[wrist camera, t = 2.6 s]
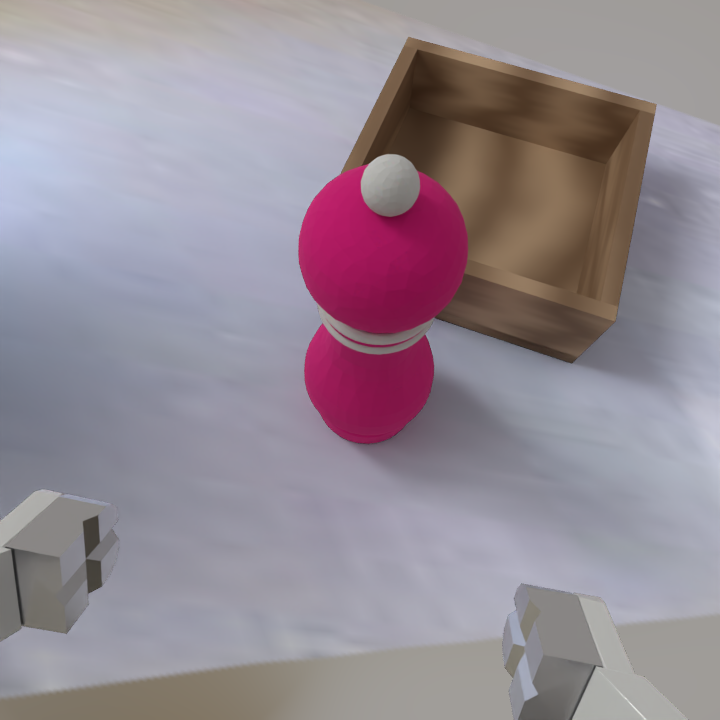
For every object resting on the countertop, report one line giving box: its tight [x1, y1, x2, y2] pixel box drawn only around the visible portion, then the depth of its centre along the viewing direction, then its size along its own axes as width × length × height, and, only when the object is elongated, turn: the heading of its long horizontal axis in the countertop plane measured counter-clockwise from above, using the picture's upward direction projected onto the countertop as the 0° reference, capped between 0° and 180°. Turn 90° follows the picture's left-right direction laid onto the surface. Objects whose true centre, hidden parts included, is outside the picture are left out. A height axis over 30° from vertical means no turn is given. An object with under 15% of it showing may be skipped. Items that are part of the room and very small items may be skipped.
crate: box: [340, 37, 657, 363], centre depth 36 cm, size 18×18×6 cm
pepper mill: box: [299, 154, 468, 444], centre depth 24 cm, size 7×7×20 cm
